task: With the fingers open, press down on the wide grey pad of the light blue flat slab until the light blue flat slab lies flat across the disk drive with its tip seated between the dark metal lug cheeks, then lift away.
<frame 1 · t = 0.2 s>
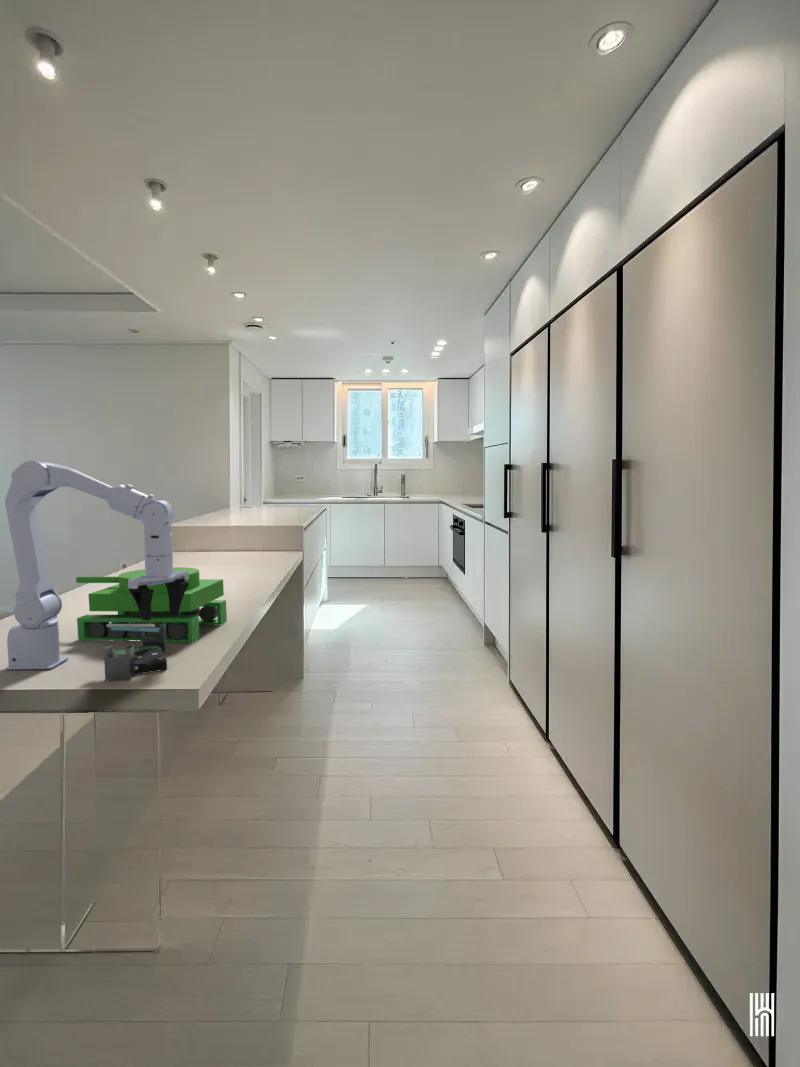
hand: (160, 616, 146), 10 cm above the table, tool pointing down, fingers open, 7 cm apart
lug: (120, 678, 135), on the table
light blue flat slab: (138, 628, 145), point 8 cm above the table, hinge at 15.0°
hinge bracket: (154, 651, 155), on the table
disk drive: (138, 667, 145), on the table
tank: (147, 631, 176), on the table
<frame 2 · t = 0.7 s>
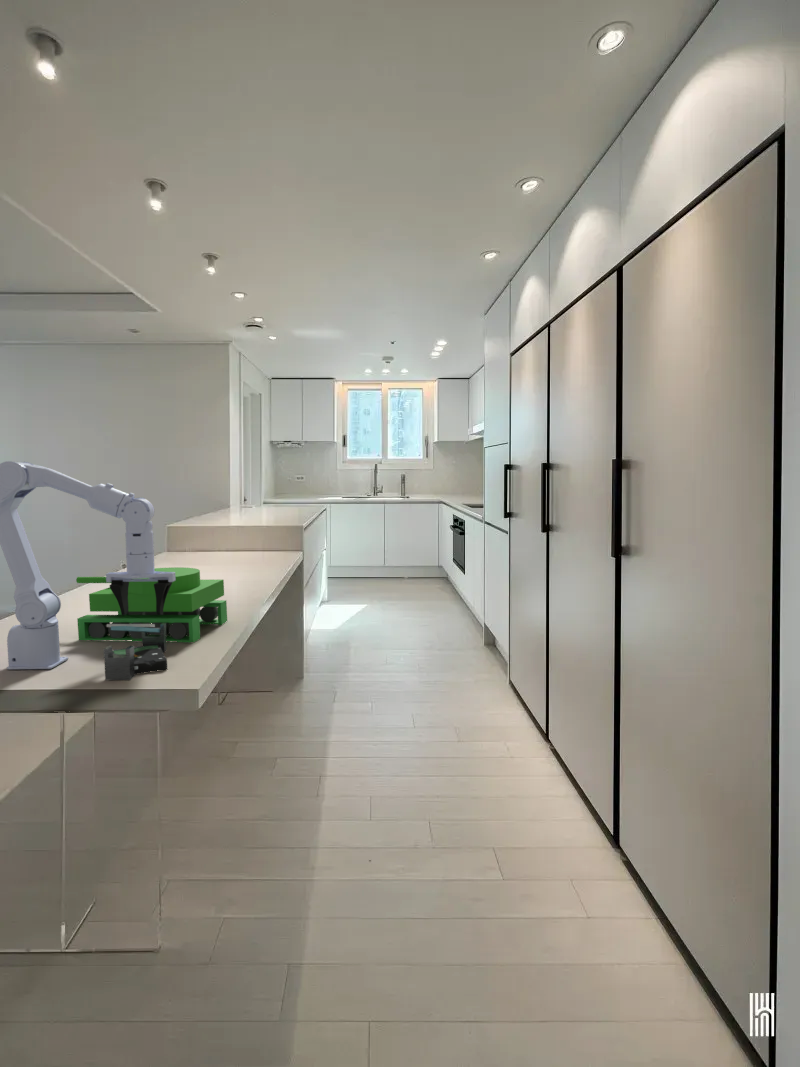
hand: (142, 613, 147), 10 cm above the table, tool pointing down, fingers open, 7 cm apart
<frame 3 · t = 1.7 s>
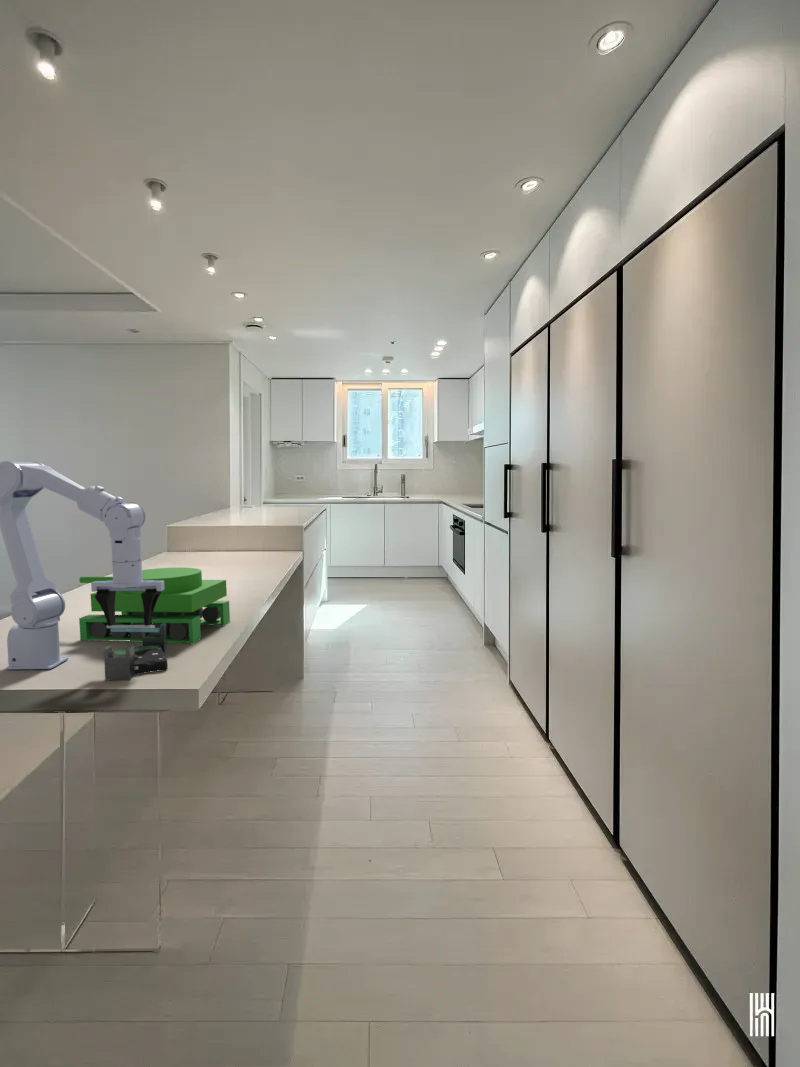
hand: (129, 624, 140), 10 cm above the table, tool pointing down
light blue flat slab: (138, 629, 145), point 8 cm above the table, hinge at 14.1°, touching gripper
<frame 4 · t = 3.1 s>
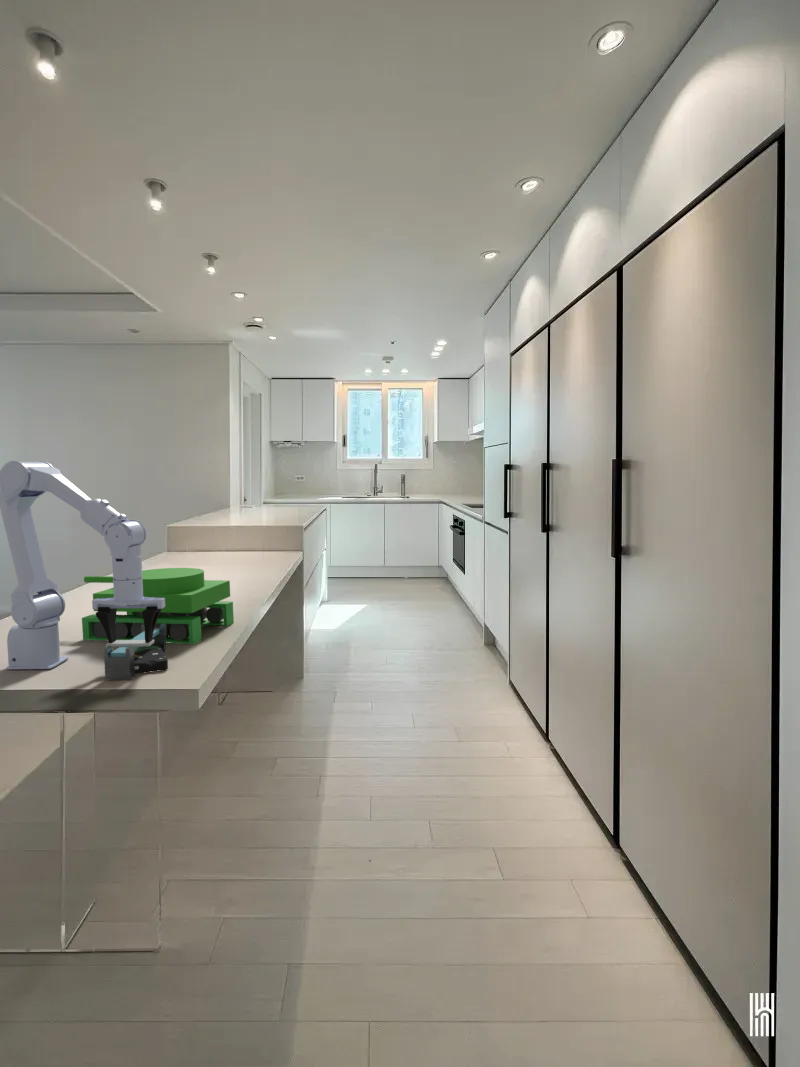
hand: (130, 642, 140), 6 cm above the table, tool pointing down
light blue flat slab: (137, 640, 144), point 5 cm above the table, hinge at 0.0°, touching gripper, lug
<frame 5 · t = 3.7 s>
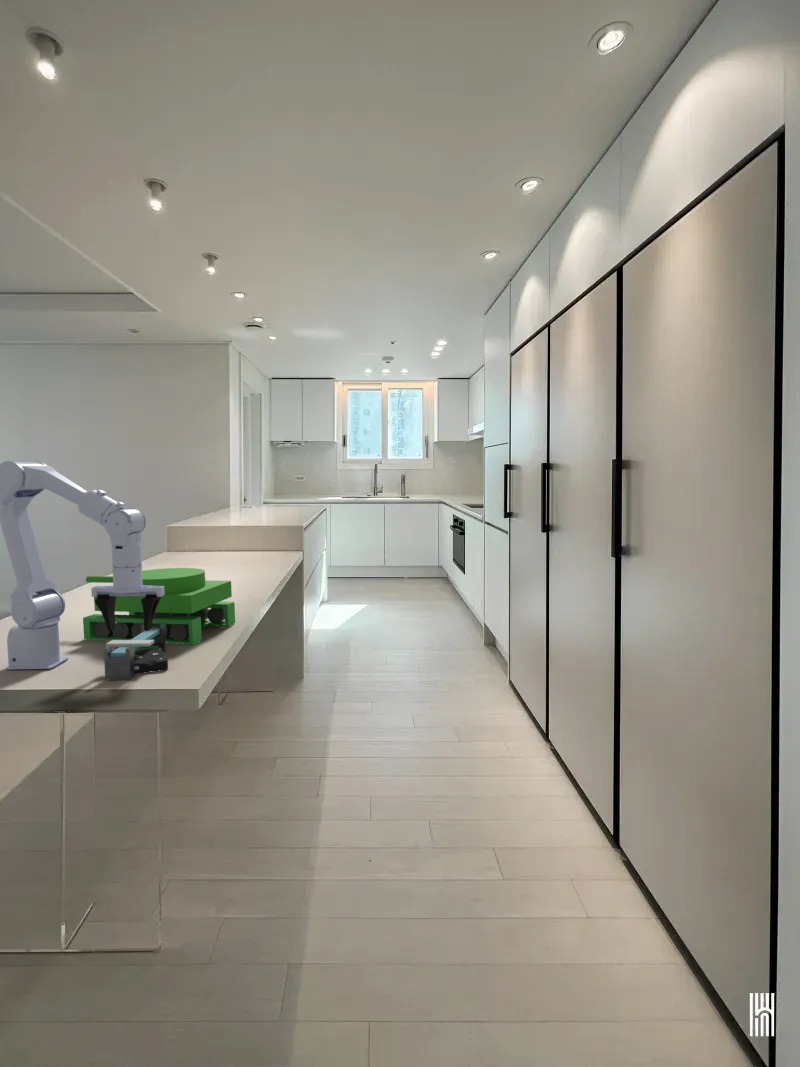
hand: (129, 629, 140), 9 cm above the table, tool pointing down, fingers open, 7 cm apart
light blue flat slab: (137, 640, 144), point 5 cm above the table, hinge at 0.0°, touching lug
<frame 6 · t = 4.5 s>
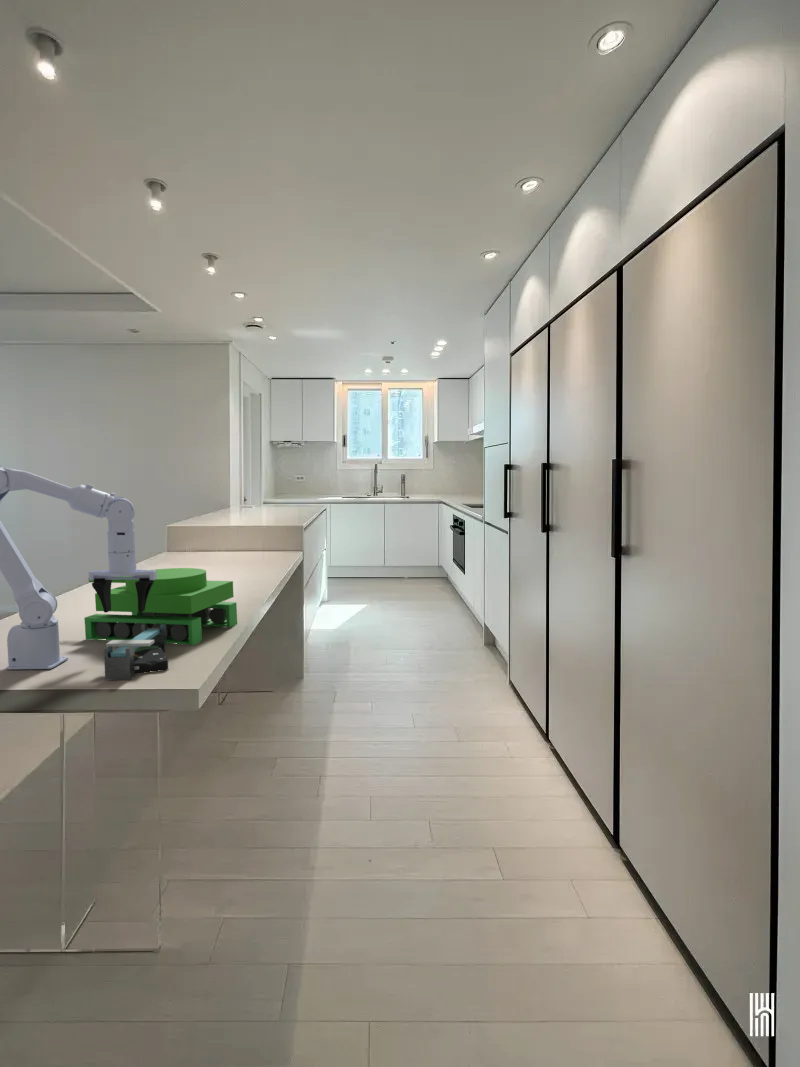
hand: (124, 611, 150), 10 cm above the table, tool pointing down, fingers open, 7 cm apart
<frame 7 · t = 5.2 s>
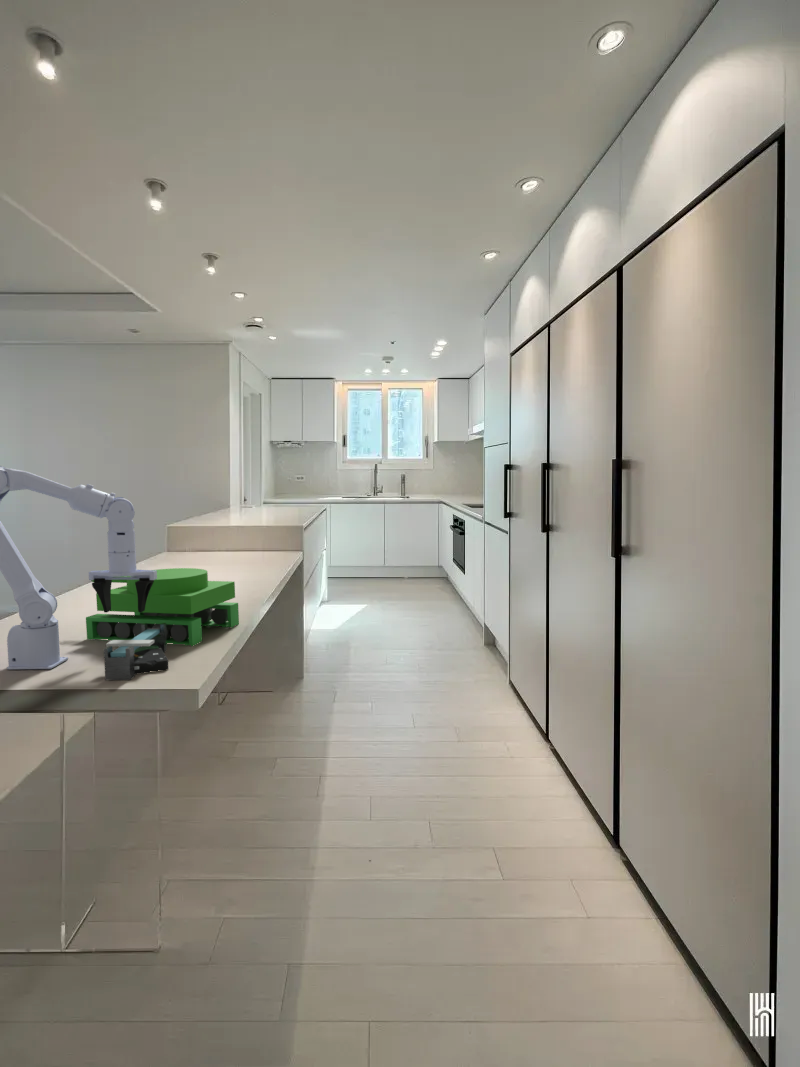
hand: (124, 611, 150), 10 cm above the table, tool pointing down, fingers open, 7 cm apart
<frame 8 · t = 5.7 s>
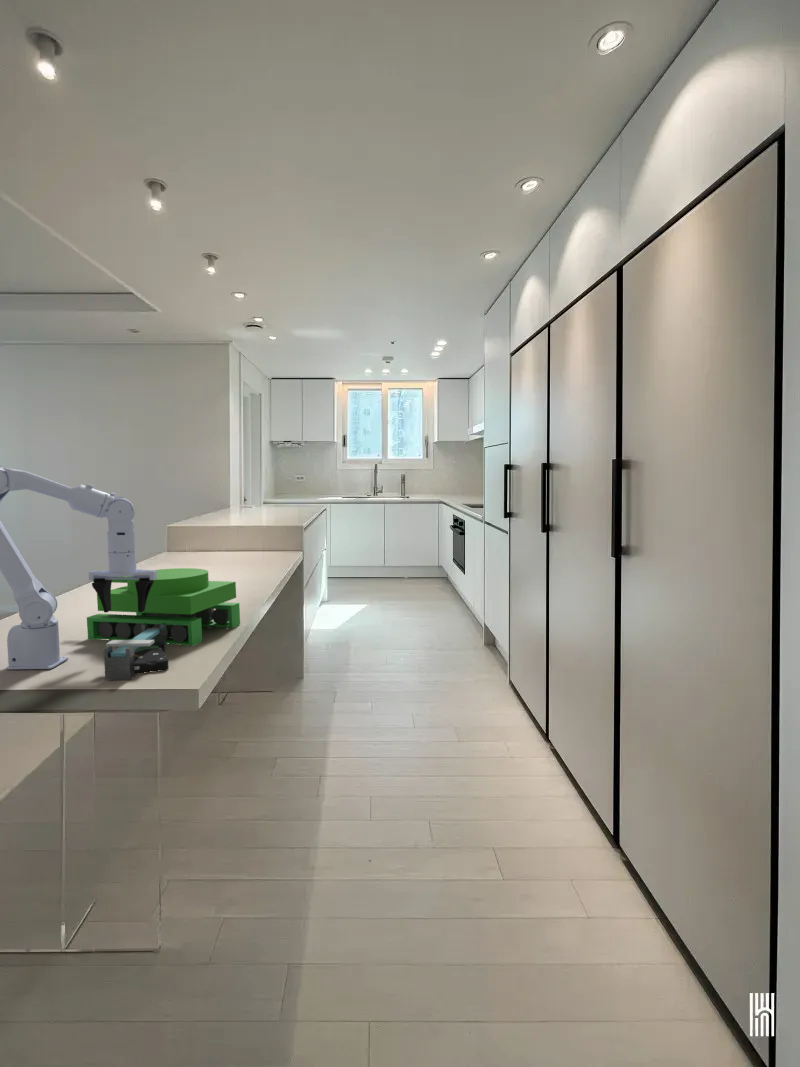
hand: (124, 611, 150), 10 cm above the table, tool pointing down, fingers open, 7 cm apart
at the end: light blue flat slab at +0° (first picture: +15°); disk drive moved 0.8 cm from its start; the gripper is holding nothing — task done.
